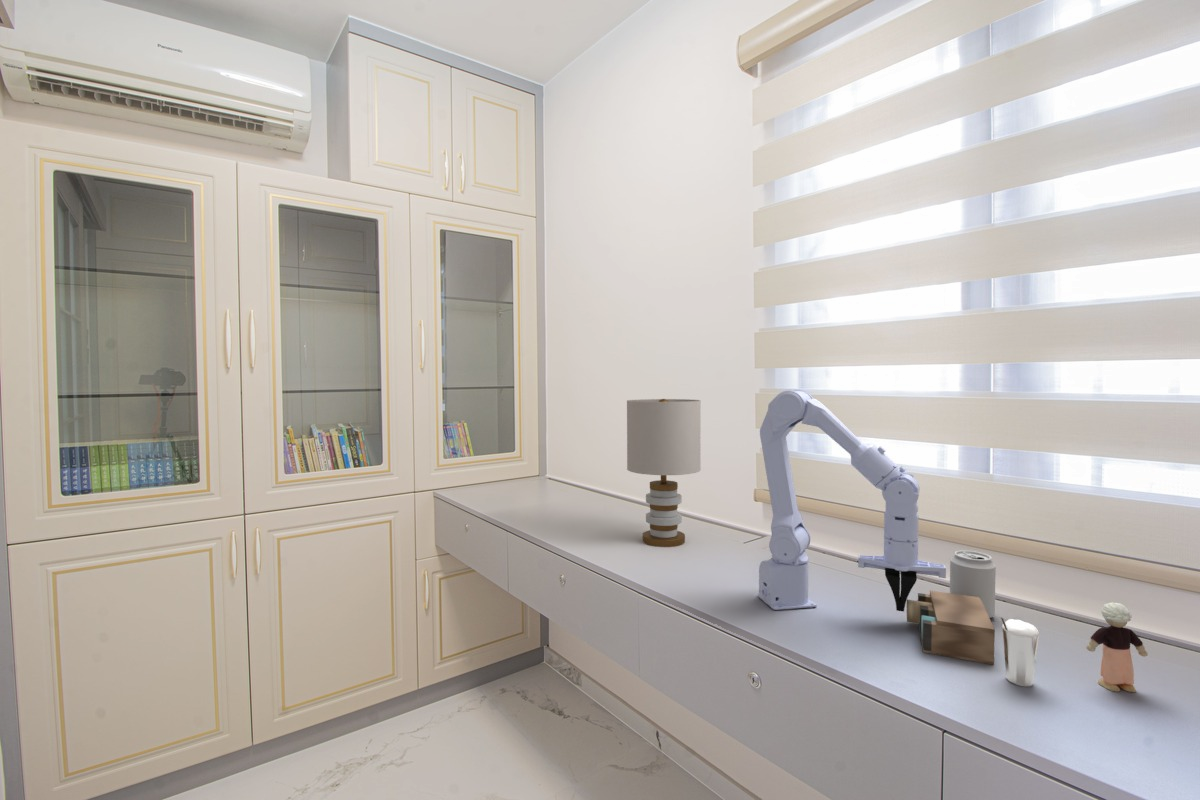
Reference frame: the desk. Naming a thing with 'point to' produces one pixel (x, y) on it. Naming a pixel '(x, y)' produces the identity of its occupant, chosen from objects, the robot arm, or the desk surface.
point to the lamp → (663, 458)
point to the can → (974, 577)
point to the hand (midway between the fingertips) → (900, 609)
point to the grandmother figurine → (1116, 648)
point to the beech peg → (915, 610)
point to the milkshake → (1020, 651)
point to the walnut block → (957, 627)
